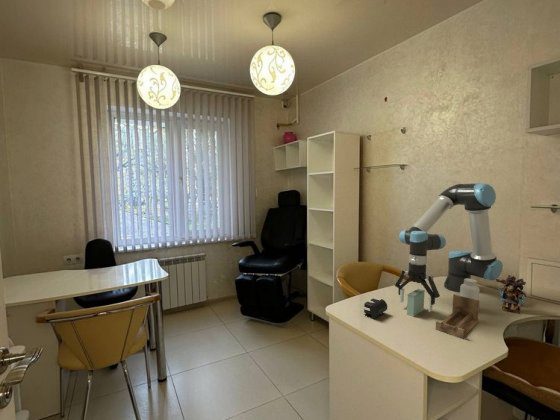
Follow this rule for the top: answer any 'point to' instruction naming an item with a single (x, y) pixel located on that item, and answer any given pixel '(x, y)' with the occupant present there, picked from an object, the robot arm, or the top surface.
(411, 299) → the door panel
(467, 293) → the pill bottle
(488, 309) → the top surface
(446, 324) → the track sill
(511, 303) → the figurine
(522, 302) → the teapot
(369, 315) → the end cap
